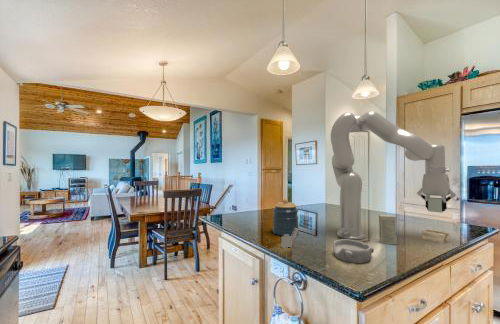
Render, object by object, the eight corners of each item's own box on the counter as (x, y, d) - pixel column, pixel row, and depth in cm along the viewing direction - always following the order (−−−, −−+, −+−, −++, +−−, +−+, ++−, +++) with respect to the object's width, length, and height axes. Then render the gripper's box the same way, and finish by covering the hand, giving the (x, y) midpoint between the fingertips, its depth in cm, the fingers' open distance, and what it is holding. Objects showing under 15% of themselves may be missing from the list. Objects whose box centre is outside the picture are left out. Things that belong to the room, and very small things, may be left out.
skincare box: (394, 242, 113) (394, 214, 113) (396, 244, 109) (396, 216, 109) (378, 240, 115) (378, 213, 115) (380, 243, 111) (380, 215, 111)
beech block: (442, 244, 111) (442, 235, 111) (422, 240, 117) (422, 231, 118) (449, 241, 115) (449, 232, 115) (429, 237, 122) (429, 229, 122)
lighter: (282, 248, 104) (282, 228, 104) (281, 246, 106) (281, 227, 106) (298, 247, 105) (298, 228, 105) (297, 246, 107) (297, 227, 107)
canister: (302, 232, 129) (302, 198, 130) (292, 238, 118) (292, 200, 119) (279, 229, 136) (279, 196, 136) (268, 234, 125) (268, 199, 126)
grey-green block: (441, 212, 113) (441, 199, 113) (428, 211, 117) (428, 198, 117) (443, 211, 117) (443, 198, 117) (430, 209, 120) (430, 197, 120)
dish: (352, 267, 85) (352, 252, 85) (324, 254, 98) (324, 241, 98) (382, 260, 91) (382, 246, 91) (352, 249, 103) (352, 237, 104)
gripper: (459, 171, 113) (460, 211, 113) (415, 170, 126) (416, 207, 125) (457, 171, 108) (458, 213, 108) (411, 171, 121) (412, 209, 120)
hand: (435, 209), depth 117 cm, fingers closed on grey-green block, 5 cm apart
